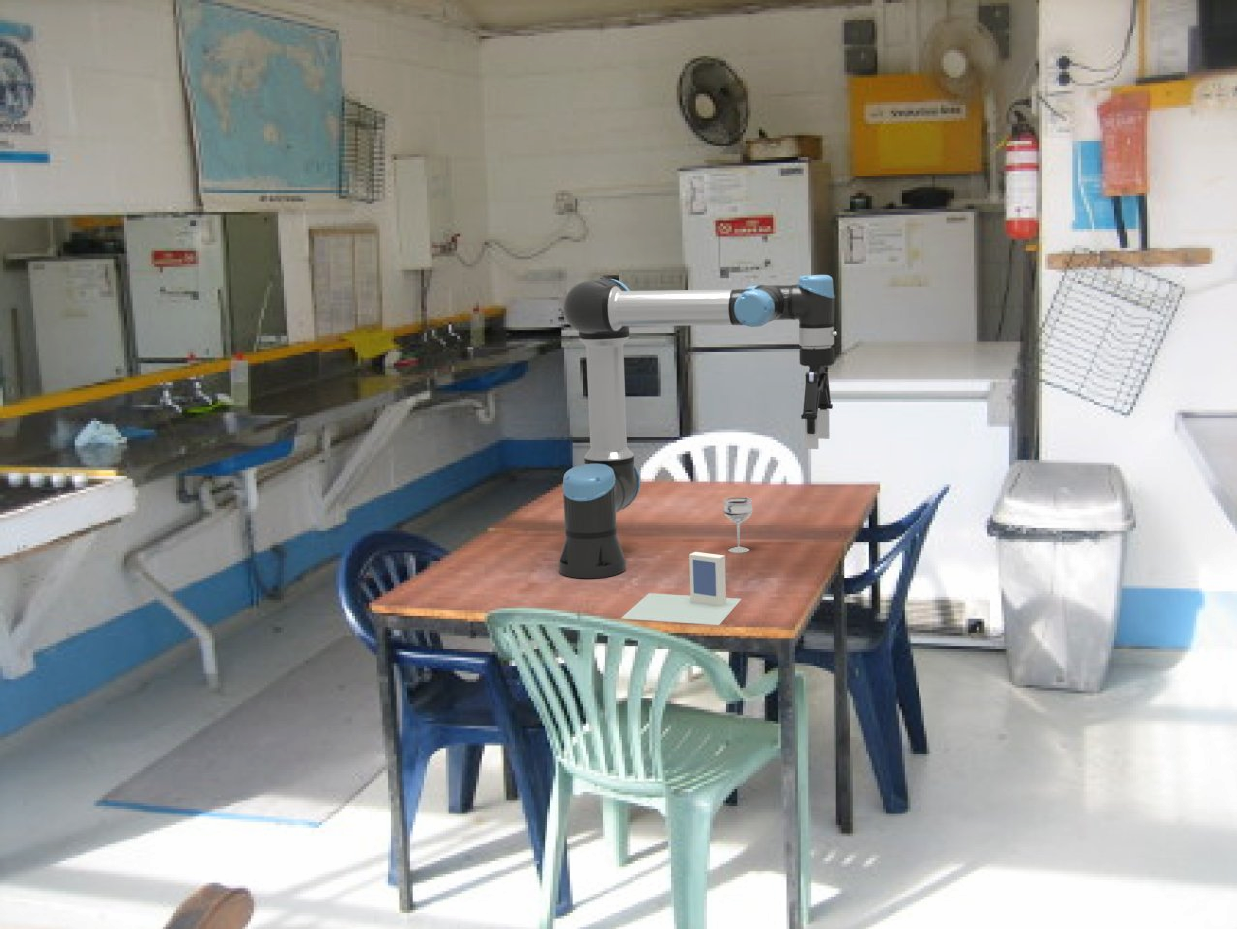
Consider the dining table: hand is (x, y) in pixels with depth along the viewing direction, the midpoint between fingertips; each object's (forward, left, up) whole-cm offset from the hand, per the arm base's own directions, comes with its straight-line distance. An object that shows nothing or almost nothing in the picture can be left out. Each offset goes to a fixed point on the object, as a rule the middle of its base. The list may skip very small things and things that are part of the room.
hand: (817, 443), depth 292 cm
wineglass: (-21, +11, -28) cm, 37 cm away
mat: (-20, -39, -28) cm, 52 cm away
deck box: (-16, -34, -27) cm, 47 cm away
